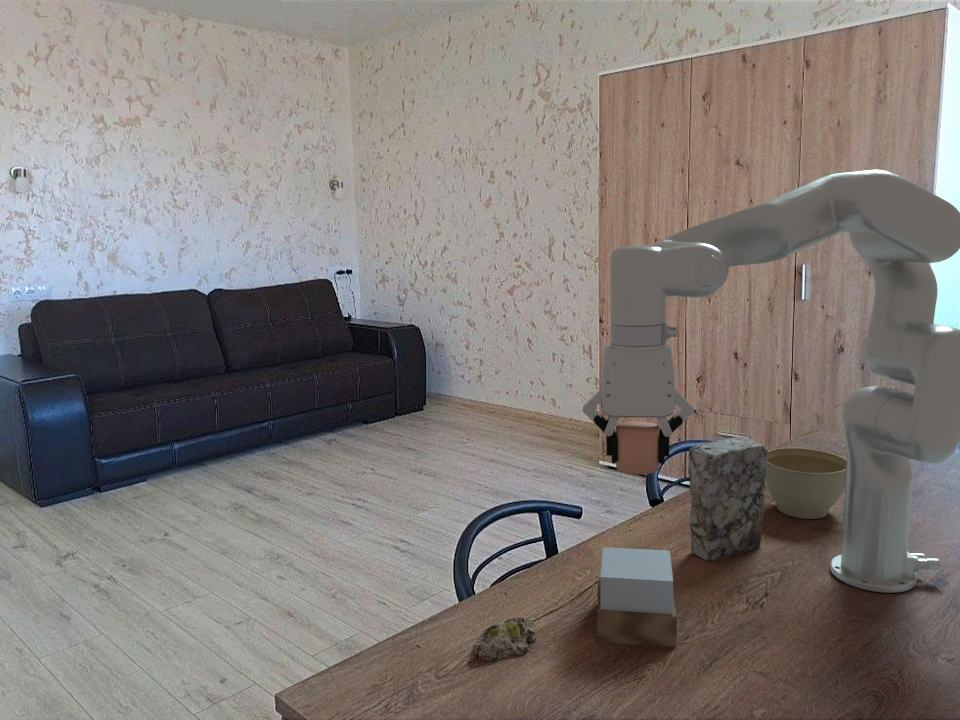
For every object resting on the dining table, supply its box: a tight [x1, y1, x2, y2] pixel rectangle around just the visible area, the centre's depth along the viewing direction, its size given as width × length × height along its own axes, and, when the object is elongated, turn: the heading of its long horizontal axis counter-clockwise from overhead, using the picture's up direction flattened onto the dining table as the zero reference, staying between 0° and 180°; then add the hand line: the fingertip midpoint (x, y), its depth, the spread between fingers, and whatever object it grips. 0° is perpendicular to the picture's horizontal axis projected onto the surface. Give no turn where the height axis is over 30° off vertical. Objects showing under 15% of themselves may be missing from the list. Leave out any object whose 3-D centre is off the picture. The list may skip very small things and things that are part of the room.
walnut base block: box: [596, 576, 678, 648], centre depth 112 cm, size 11×11×5 cm
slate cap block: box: [599, 546, 674, 614], centre depth 111 cm, size 10×10×5 cm
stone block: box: [687, 436, 769, 563], centre depth 134 cm, size 13×7×20 cm, turn 120°
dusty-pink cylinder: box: [615, 420, 660, 475], centre depth 107 cm, size 6×6×6 cm
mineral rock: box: [474, 616, 537, 663], centre depth 108 cm, size 11×4×8 cm
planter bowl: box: [765, 447, 846, 520], centre depth 152 cm, size 16×16×11 cm
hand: (637, 459), depth 108 cm, fingers closed on dusty-pink cylinder, 6 cm apart
